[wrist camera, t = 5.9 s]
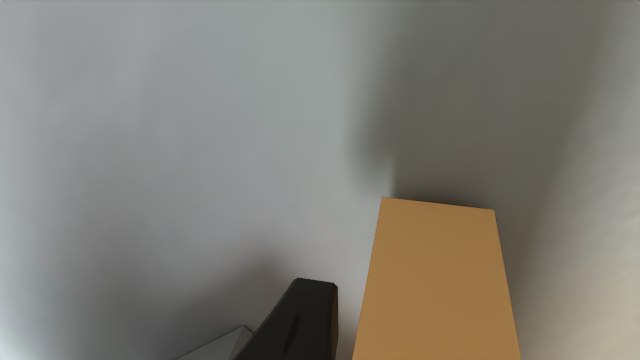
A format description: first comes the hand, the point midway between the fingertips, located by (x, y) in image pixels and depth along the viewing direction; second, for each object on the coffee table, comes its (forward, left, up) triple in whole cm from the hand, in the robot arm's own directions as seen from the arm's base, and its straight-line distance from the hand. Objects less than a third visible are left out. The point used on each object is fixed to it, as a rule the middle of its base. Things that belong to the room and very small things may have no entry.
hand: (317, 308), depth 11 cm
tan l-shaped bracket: (-1, -5, -2) cm, 6 cm away
